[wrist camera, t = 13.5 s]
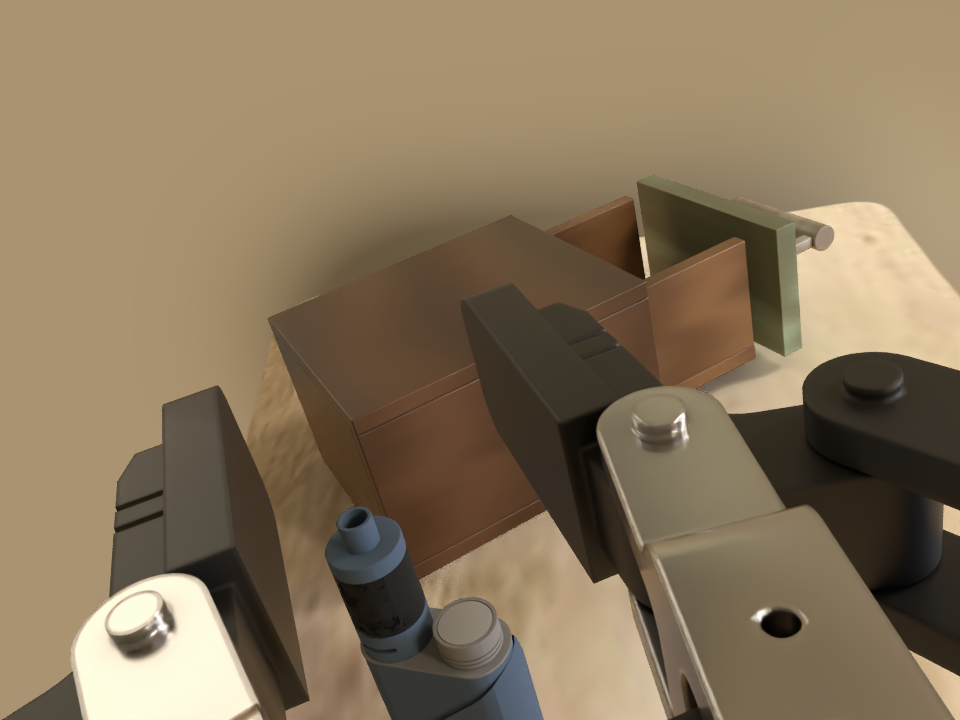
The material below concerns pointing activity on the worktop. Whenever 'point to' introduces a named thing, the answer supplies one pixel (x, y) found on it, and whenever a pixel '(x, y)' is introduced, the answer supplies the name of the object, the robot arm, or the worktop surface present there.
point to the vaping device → (425, 633)
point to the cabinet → (439, 380)
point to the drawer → (705, 272)
